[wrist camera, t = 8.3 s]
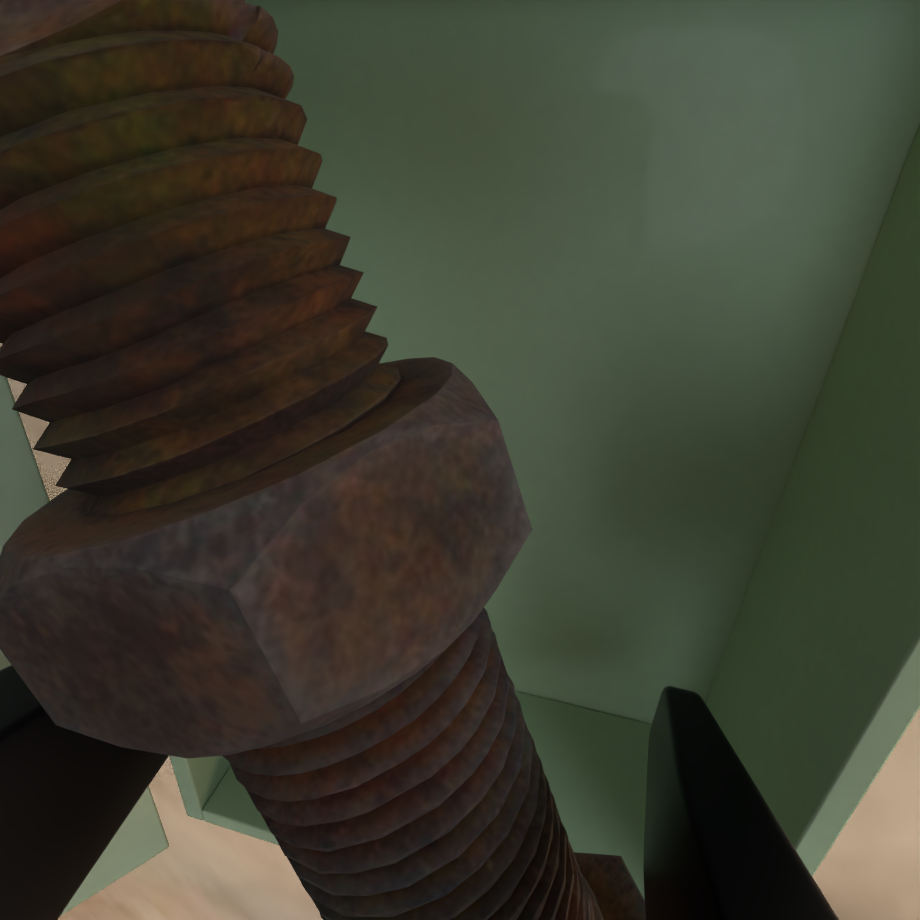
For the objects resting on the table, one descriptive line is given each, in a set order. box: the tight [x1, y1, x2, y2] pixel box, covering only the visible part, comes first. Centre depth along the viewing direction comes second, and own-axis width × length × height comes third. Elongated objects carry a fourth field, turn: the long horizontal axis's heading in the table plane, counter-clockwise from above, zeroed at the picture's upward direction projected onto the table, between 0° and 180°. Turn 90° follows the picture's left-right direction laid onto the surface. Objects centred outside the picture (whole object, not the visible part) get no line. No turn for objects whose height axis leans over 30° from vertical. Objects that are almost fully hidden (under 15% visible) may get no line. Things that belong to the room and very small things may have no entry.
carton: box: [169, 0, 920, 900], centre depth 12 cm, size 19×14×6 cm
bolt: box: [0, 0, 646, 920], centre depth 7 cm, size 6×5×15 cm
